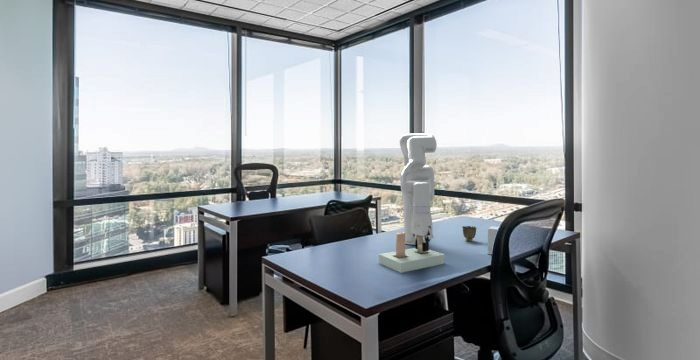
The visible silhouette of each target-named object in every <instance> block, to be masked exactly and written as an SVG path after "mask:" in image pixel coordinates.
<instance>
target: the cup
mask: <svg viewBox="0 0 700 360" xmlns="http://www.w3.org/2000/svg"><path fill="white" fill-rule="evenodd" d="M476 233H477V227H476V226H473V225H472V226H471V225H463V226H462V234H463V237H464V238H465V241H466V242H470V243H471V242H473V240H474V238H475V237H476V235H477V234H476Z"/></svg>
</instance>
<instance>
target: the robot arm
mask: <svg viewBox="0 0 700 360" xmlns="http://www.w3.org/2000/svg"><path fill="white" fill-rule="evenodd" d="M399 146H400V150H401V152H402V155H403V156H402V157H403V165H404V167H403V169H402V170H401V173H400V177H399V179H400V191H401V198H402V204H403V206H402V207H403V231H402V233H405V245H412V246H413V245H414V246H415V247H414V248H415V249H418V244H417V235H419V236H423V243H422V251H423V252H425V251H429V250H430V248H429V247H430V246H429V245H430V241H431V240H432V239H433V238H435V237H434V234H433V218H432V213H431V212H432V211H431V203H432V202H433V201H434V200H435V171H434V168H433V167H432V166H431V165H428V164H427V158H426V154H429V153H430V154H432V153H435V152H436V150H437V148H438V147H437V146H438V145H437V140H436V137H435V136H434V134H432V133H425V132H424V133H422V132H421V133H406V134H402V135H400V137H399ZM426 164H427V165H426ZM425 237H427V238H425Z"/></svg>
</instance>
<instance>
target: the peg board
mask: <svg viewBox="0 0 700 360" xmlns="http://www.w3.org/2000/svg"><path fill="white" fill-rule="evenodd" d="M417 252H418V249H415V247H412V248H405V258H401V259H399V258H396V250H395V251H390V252H383V253H379V254H378V264H379V265H382V266H384V267H387V268H389V269H391V270H394V271H396V272H398V273H400V274H401V273H406V272H411V271H416V270H421V269H425V268H429V267H434V266H438V265H444V264H445V262H446V261H445V259H446V258H445V254H444V253H442V252H438V251H435V250H433V249H429V251H427V254H422V255H421V254H418V253H417Z"/></svg>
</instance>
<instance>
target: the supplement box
mask: <svg viewBox="0 0 700 360" xmlns="http://www.w3.org/2000/svg"><path fill="white" fill-rule="evenodd" d="M499 227H500V226H493V225H492V226H490V227H489V228H487V254H488V255H491V253H492V247H493V242H494V239H495V236H496V234H497V231H498V228H499Z"/></svg>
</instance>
